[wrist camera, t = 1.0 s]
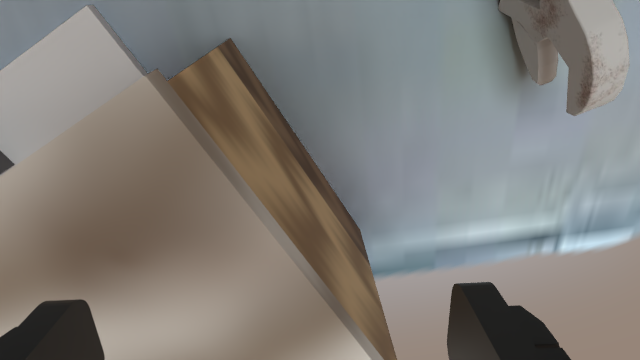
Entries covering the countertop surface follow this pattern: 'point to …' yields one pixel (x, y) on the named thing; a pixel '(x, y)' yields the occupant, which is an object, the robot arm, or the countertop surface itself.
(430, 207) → the countertop surface
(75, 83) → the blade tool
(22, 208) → the cabinet
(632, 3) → the countertop surface
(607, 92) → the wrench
